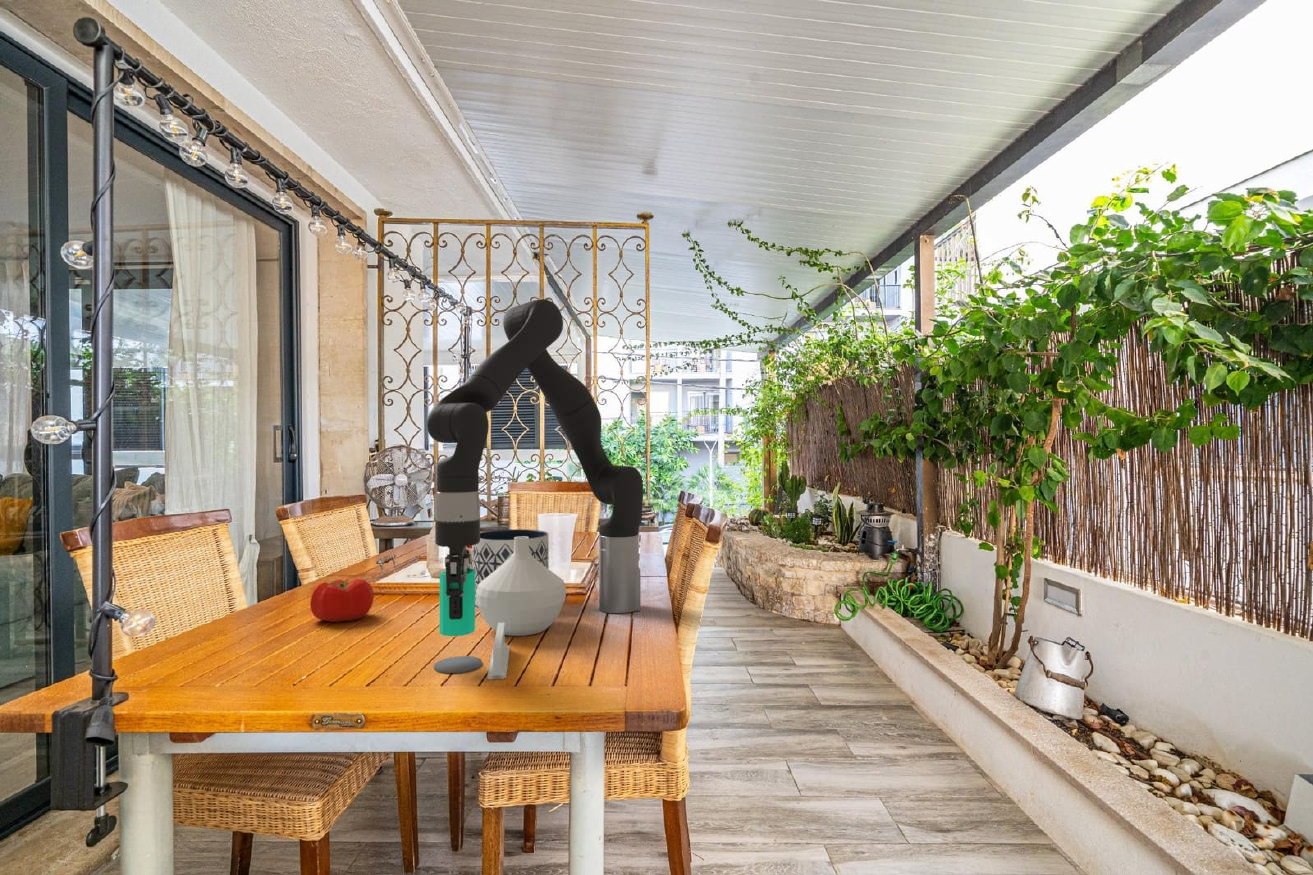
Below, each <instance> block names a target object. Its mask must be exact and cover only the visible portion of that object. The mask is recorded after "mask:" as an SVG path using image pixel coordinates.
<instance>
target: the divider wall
mask: <svg viewBox="0 0 1313 875" xmlns="http://www.w3.org/2000/svg"><path fill="white" fill-rule="evenodd" d="M505 636H506V635H505V623H498V626H497V631H495V636H494V637H495V638H494V641H493V642H494V644H493V647H492V651H491V655H490V661H489V666H488V667H489V668H488V670H487V680H501V679H502V680H505V679H507V674H508V666H509V657H510V645H506V644H505V641H506V639H505ZM504 678H505V679H504Z"/></svg>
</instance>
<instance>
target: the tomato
mask: <svg viewBox="0 0 1313 875" xmlns="http://www.w3.org/2000/svg"><path fill="white" fill-rule="evenodd" d="M329 582H330V583H329ZM329 582H326V581H324V582H320V583H318V585H317V586H316V587H315V588H314V589H313V591H312V593H311V596H310V597H311V598H310V603H309V604H310V605H309V606H310V610H311V612H312V615H313V616H314V618H316V619H318V620H321V621H325V622H330V623H338V622H339V623H340V622H345V621H346V622H347V621H348V622H349V621H355V620H358V619H361V618H362V617H365V616H366V615H367V614H368V613H369V612H370V610H371V608H372V605H373V604H374V598H375V595H374V590H373V588H372V585H370V583H369V582H367V581H366V580H364V579H363V578H362V579H361V578H354V579H352V580H347V581H346V582H345V581H344V580H342V579H336V580H335V579H334V580H333V581H332V580H331V581H329Z"/></svg>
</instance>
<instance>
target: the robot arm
mask: <svg viewBox="0 0 1313 875" xmlns="http://www.w3.org/2000/svg"><path fill="white" fill-rule="evenodd" d="M502 317H503V318H502V326H503V332H504V333H505V336H506V339H507V342H506V343H505V344H503V345H501V346H500V347H499V348H498V349H496V350H495V351H494V352H492V353H491V354H489V355H488V356H487V357H485V359H483V360H482V361H481V363H479V364H478V366H477V367H476V368H475V369H474V370H473V372H472V373H471V374H470V375H469V376H468V378H467V379H466V380H465V381H464V382H463V384H461V385H460V386H458V387H456V388H455V389H453V390H451V392H449V393H448V394H446V395H445V396H444V397H442V398H441V399H440V400H439V401H438V402H437V403H436V404H435V405H434V406H432V408H431V410H430V412H429V414H428V417H427V420H426V428H427V433H428V434H429V436H430V437H431V439H432V440H434V441H435V442H438V443H442V444H456V445H455V446H456V447H455V449H454V451H453V454H452V455H451V456H449V457H444V458H442V459H440V460H439V461H438V462H437V465H436V466H437V467H436V497H435V498H436V499H435V509H434V510H435V511H434V512H435V520H434V521H435V526H434V527H435V534H434V535H435V536H434V537H435V541H434V542H435V544H436V545H437V546H438V547H443V548H448V549H449V550H448V551H449V552H448V554H446V556H445V558H444V567H445V570H446V594H447V596H448V597H449V618H450V619H461V618H462V617H463V595H464V592H463V584H464V583H465V582H466V580H467V571H468V570H469V568H470V564H471V561H472V555H471V553H470V551H469V549H467V547H470V546H471V547H472V546H473V545H476V544H478V543H479V542H480V533H481V500H480V492H479V489H480V488H479V486H480V482H479V479H480V478H479V475H480V474H479V468H480V465H481V460H482V458H483V453H484V449H485V445H486V441H487V439H488V434H489V429H490V428H489V419H488V415H487V413H488V412H491V411H492V410H494V409H495V407H496V406H498V404H499V403H500V402H501V400H502V398H504V396H505V395H506V394H507V392H508V391H509V389H510V388H511V386H512V385H513V384H514V383H515V382H516V380H518V378H519V377H520V375H521V374H522V373H523V372H524V371H525V370H526V369H527V370H528V371H529V374H530V375H531V376H532V378H533V379H534V381H535V383H536V384H537V386H538V387H539V389H540V391H541V393H542V394H543V397H544V398H545V400H546V401H547V403H548V405H549V408H550V410H551V412H552V413H553V415H554V417H555V419H556V421H557V422H558V424H559V426H560V428H561V430H562V432H563V433H564V435H565V437H566V438H567V440H568V443H569V444H570V446H571V447H572V449H573V452H574V453H575V456H576V457H577V459H578V461H579V464H580V465H581V468H582V470H583V473H584V476H585V478H586V479H587V482H588V485H589V488H590V490H591V492H592V494H593V495H594V497H595V498H596V499H597V500H598V501H599V503H602V504H604V505H611V506H612V509H611V510H612V511H611V515H610V517H608V518H607V519H605V520H602V521H601V522H600V523H599V525H598V534H599V535H598V548H599V549H598V566H599V567H598V572H599V574H598V580H599V581H598V593H599V594H598V597H599V599H598V605H599V606H598V607H599V610H600V611H601V612H604V613H608V614H627V613H633V612H638V611H641V610H642V609H641V604H642V603H641V602H642V601H641V600H642V599H641V598H642V597H641V596H642V595H641V594H642V593H641V582H642V581H641V580H642V579H641V568H640V559H639V558H640V553H639V552H640V548H639V546H640V543H639V541H640V539H639V538H640V535H639V534H640V531H639V530H640V527H641V523H642V519H643V507H644V506H643V504H644V503H643V502H644V501H643V500H644V499H643V498H644V482H643V477H642V475H641V473H640V471H639V469H637V468H636V467H634V466H631V465H614V464H613V463H612V461H610V459H609V457H608V455H607V453H606V451H605V450H604V448H603V445H602V444H603V443H602V415H601V412H600V410H599V408H598V406H597V404H596V401H595V400H594V397H593V395H592V394H591V392H590V390H589V389H588V387H587V386H586V385H585V384H584V383H583V382H582V381H580V380H579V379H578V378H577V377H575V376H574V375H573V374H571V373H570V372H569V371H567V370H566V369H565V368H563V367H562V365H561V366H560V365H559V364H558V363H557V362H556V361H555V359H554V358H553V357H552V356H551V355H550V353H549V351H548V350H547V349H548V348H549V347H550V346H552V345H553V343H554V342H556V341H557V340H558V339H559V337H560V336H561V334H562V333H563V329H564V319H563V315H562V312H561V310H560V308H559V307H558V306H557V304H556V303H554V302H553V301H552V300H549V299H545V298H541V299H534V300H532V301H528V302H525V303H522V304H519V305H515V306H514V307H510V308H509V309H507V310H506V311H505V312H504V314H503V316H502ZM462 575H464V576H463V577H462ZM452 583H458V584H459V588H451V584H452Z"/></svg>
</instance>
